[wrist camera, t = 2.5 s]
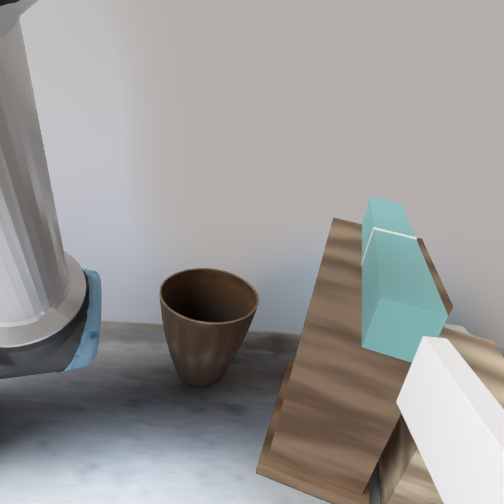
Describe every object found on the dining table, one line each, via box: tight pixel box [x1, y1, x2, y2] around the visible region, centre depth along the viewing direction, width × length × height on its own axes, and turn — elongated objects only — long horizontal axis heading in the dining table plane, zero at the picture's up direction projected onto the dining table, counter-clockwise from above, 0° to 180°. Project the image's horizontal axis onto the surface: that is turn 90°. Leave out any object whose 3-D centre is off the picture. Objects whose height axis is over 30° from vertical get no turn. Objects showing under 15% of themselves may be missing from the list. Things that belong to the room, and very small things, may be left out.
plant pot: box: [160, 268, 259, 387], centre depth 56 cm, size 15×15×16 cm
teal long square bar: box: [361, 197, 448, 363], centre depth 34 cm, size 28×4×4 cm, turn 163°
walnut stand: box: [256, 218, 453, 504], centre depth 46 cm, size 20×14×30 cm
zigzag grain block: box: [379, 327, 504, 504], centre depth 45 cm, size 16×10×19 cm, turn 163°
